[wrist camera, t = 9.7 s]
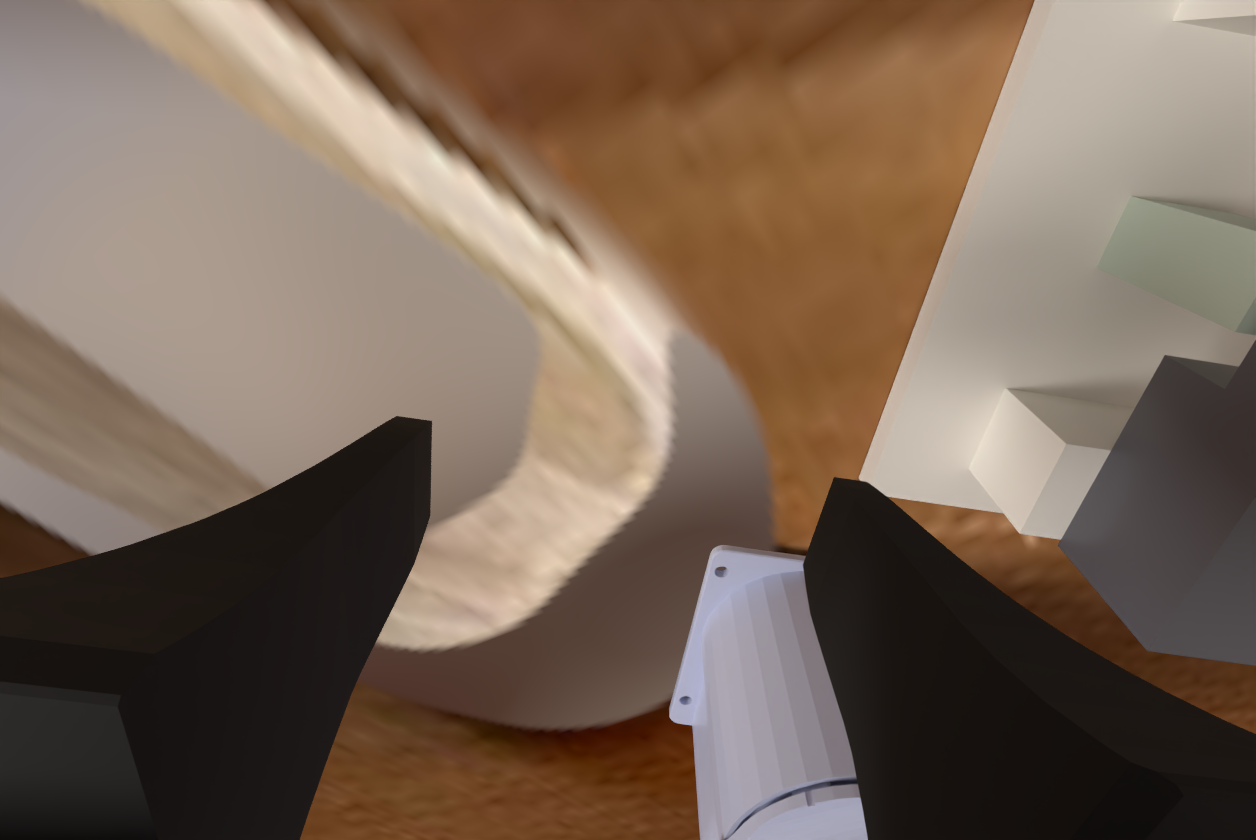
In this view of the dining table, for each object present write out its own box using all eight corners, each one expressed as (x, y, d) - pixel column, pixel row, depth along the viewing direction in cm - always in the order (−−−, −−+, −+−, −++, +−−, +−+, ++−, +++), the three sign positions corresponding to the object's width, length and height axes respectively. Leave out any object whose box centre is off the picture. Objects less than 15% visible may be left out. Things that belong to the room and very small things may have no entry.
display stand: (1155, 520, 25) (1299, 652, 19) (858, 477, 24) (920, 600, 19) (1571, -139, 16) (2056, -242, 10) (1119, -230, 15) (1382, -390, 10)
